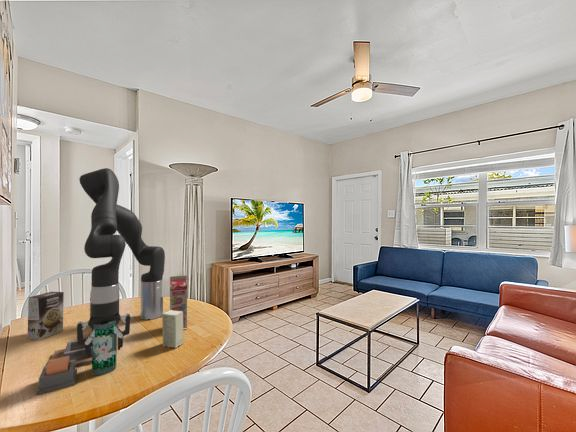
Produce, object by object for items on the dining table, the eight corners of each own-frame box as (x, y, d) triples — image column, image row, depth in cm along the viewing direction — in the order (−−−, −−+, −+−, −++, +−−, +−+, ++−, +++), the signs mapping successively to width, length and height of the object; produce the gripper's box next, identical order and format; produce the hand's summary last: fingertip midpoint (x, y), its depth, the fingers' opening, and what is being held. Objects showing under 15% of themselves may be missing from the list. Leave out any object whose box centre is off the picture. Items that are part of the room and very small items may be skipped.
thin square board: (113, 342, 103) (113, 331, 103) (113, 358, 92) (113, 346, 92) (54, 354, 94) (54, 342, 94) (46, 374, 82) (47, 360, 82)
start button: (69, 365, 82) (69, 355, 82) (67, 373, 78) (67, 362, 78) (49, 370, 79) (49, 360, 79) (46, 378, 75) (46, 367, 75)
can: (90, 376, 81) (90, 326, 81) (95, 366, 87) (95, 319, 87) (114, 372, 84) (114, 323, 84) (117, 362, 89) (118, 316, 89)
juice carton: (169, 325, 120) (170, 275, 120) (185, 323, 122) (186, 274, 122) (169, 331, 114) (170, 278, 114) (186, 329, 116) (187, 277, 116)
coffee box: (40, 340, 105) (40, 298, 105) (26, 338, 106) (27, 297, 106) (64, 330, 113) (64, 291, 114) (51, 329, 115) (51, 290, 115)
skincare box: (183, 343, 103) (184, 311, 103) (175, 349, 99) (175, 315, 99) (170, 341, 105) (170, 309, 105) (161, 346, 101) (161, 313, 101)
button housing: (77, 371, 84) (77, 358, 84) (74, 385, 77) (74, 370, 77) (42, 379, 80) (42, 366, 80) (36, 394, 73) (36, 379, 73)
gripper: (130, 292, 92) (130, 342, 92) (77, 299, 85) (76, 353, 85) (132, 298, 86) (131, 351, 86) (74, 306, 78) (74, 364, 78)
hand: (104, 352), depth 85 cm, fingers open, 7 cm apart
